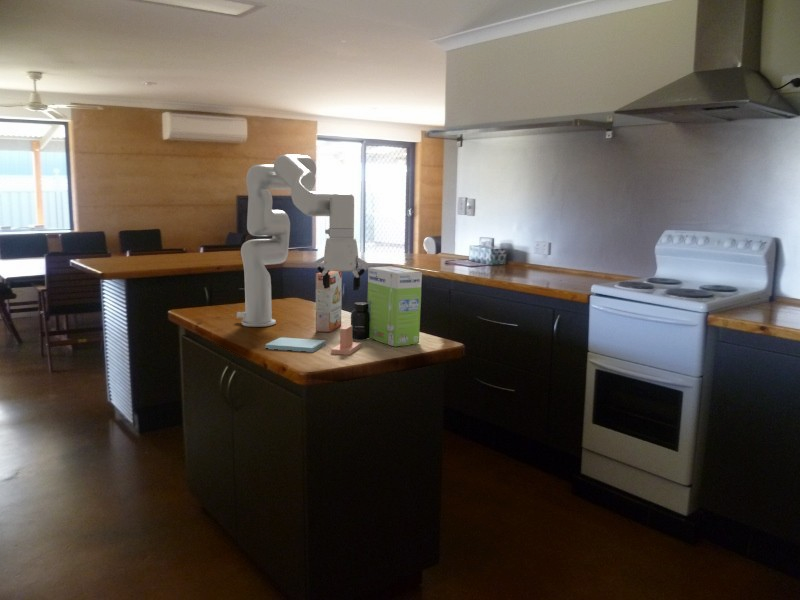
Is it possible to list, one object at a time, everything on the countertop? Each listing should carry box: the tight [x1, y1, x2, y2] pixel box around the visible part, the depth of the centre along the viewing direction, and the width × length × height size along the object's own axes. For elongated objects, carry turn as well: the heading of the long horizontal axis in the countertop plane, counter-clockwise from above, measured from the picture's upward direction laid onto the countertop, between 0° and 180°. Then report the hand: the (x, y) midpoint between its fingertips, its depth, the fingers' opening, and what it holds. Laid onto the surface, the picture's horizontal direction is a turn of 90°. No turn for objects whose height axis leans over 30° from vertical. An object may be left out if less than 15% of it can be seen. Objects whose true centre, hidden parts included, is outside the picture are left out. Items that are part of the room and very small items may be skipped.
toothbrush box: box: [366, 265, 423, 348], centre depth 215 cm, size 18×10×24 cm, turn 35°
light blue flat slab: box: [264, 336, 327, 353], centre depth 207 cm, size 16×11×1 cm
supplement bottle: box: [350, 301, 371, 341], centre depth 220 cm, size 7×7×12 cm
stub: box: [330, 324, 362, 356], centre depth 203 cm, size 6×11×7 cm, turn 166°
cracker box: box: [315, 271, 343, 333], centre depth 234 cm, size 14×6×21 cm, turn 168°
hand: (341, 288), depth 202 cm, fingers open, 9 cm apart
